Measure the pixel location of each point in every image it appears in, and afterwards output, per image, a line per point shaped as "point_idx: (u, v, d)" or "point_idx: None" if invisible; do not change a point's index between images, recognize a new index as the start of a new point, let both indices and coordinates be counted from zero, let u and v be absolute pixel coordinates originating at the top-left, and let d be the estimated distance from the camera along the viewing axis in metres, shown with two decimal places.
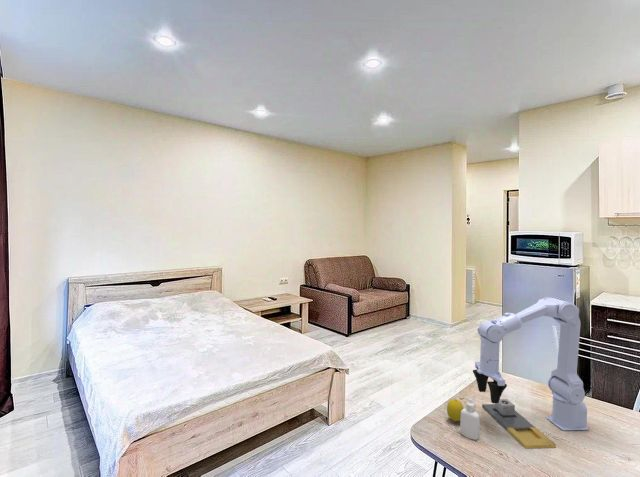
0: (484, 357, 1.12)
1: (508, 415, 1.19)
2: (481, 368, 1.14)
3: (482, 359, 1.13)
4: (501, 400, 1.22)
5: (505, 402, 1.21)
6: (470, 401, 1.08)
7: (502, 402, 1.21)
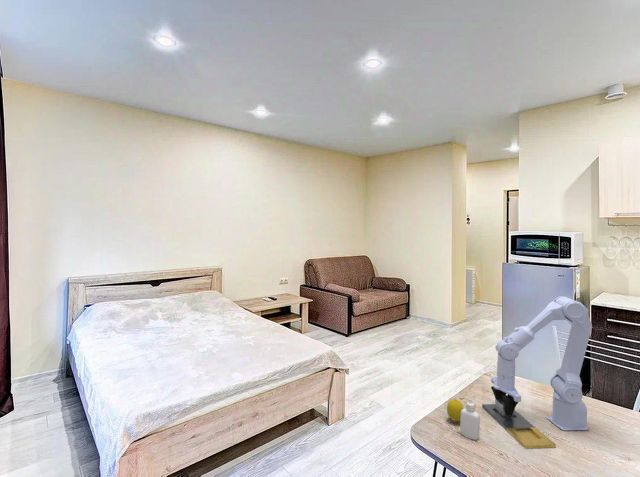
0: (499, 373, 1.20)
1: None
2: (498, 384, 1.21)
3: (499, 376, 1.20)
4: (501, 400, 1.22)
5: None
6: (470, 401, 1.08)
7: (502, 401, 1.21)
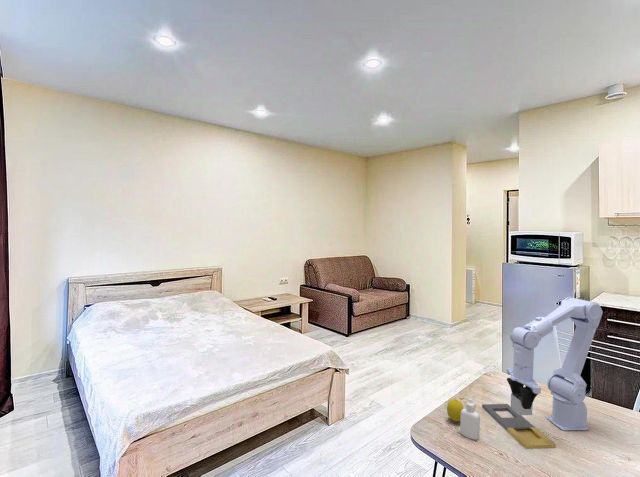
0: (519, 364, 1.10)
1: (525, 410, 1.10)
2: (514, 375, 1.12)
3: (516, 366, 1.11)
4: (517, 394, 1.13)
5: None
6: (470, 401, 1.08)
7: (518, 396, 1.12)
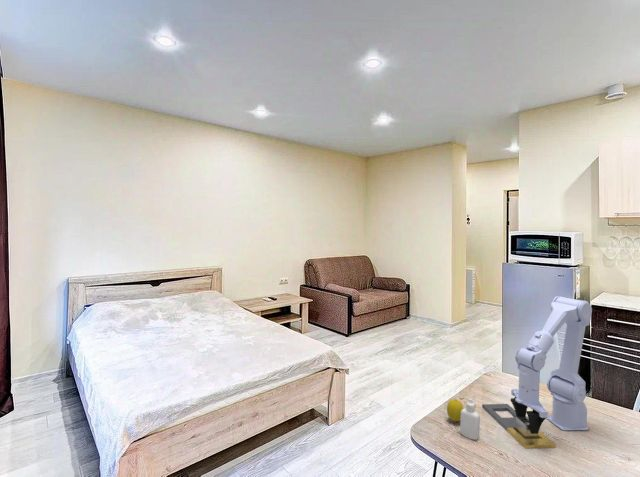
0: (527, 387, 1.07)
1: (531, 435, 1.07)
2: (520, 397, 1.09)
3: (521, 388, 1.08)
4: (523, 418, 1.10)
5: (528, 420, 1.09)
6: (470, 401, 1.08)
7: (524, 420, 1.09)
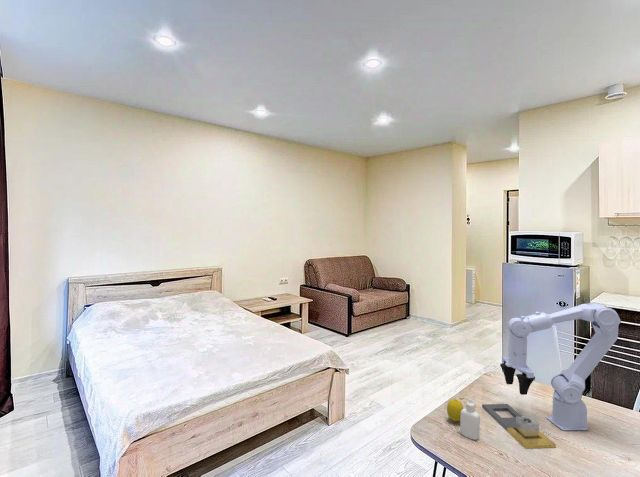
0: (510, 350, 1.20)
1: (531, 435, 1.07)
2: (509, 362, 1.20)
3: (510, 353, 1.20)
4: (523, 418, 1.10)
5: (528, 420, 1.09)
6: (470, 401, 1.08)
7: (524, 420, 1.09)
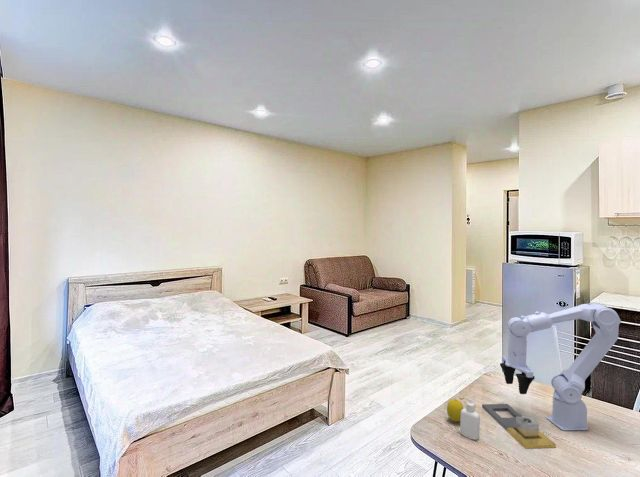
0: (510, 350, 1.21)
1: (531, 435, 1.07)
2: (509, 361, 1.21)
3: (510, 353, 1.20)
4: (523, 418, 1.10)
5: (528, 420, 1.09)
6: (470, 401, 1.08)
7: (524, 420, 1.09)
